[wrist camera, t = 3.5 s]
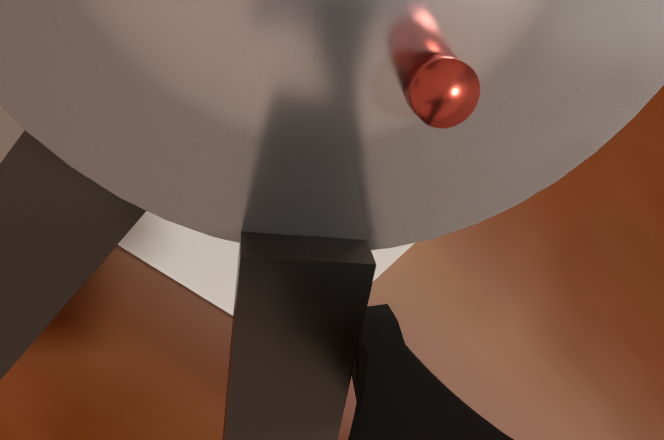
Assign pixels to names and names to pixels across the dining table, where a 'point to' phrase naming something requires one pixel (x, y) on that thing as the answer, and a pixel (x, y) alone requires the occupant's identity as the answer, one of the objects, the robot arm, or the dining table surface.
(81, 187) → the pot
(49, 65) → the lid
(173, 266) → the board
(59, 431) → the dining table surface
